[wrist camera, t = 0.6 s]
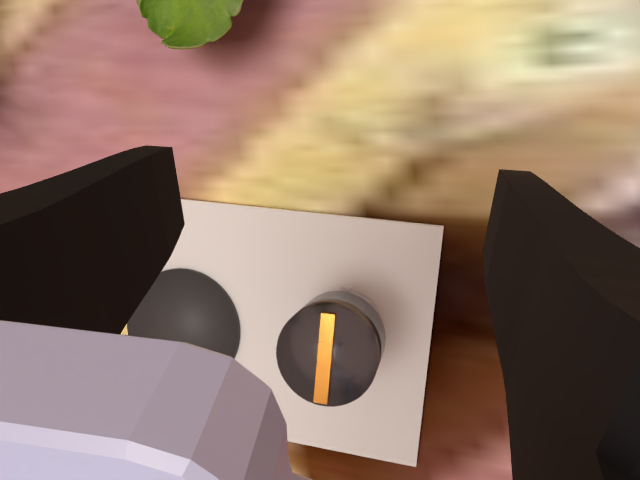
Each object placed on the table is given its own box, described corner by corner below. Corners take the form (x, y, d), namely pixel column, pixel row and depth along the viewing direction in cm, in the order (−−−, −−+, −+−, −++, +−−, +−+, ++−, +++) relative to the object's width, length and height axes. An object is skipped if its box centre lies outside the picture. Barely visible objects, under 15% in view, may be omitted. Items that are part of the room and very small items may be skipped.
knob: (380, 388, 30) (371, 418, 26) (291, 372, 31) (270, 399, 27) (390, 297, 29) (381, 315, 25) (298, 285, 30) (277, 300, 27)
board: (416, 462, 34) (412, 495, 30) (132, 405, 38) (100, 428, 35) (443, 225, 32) (443, 231, 28) (140, 194, 36) (107, 196, 32)
